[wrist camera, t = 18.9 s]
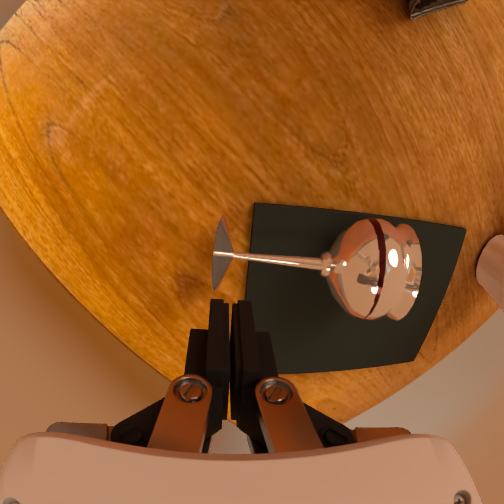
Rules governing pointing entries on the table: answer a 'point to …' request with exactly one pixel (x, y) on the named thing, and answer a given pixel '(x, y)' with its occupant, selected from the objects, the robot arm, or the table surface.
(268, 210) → the mat
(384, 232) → the wineglass
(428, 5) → the checkered cake slice
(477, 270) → the cup
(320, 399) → the table surface
